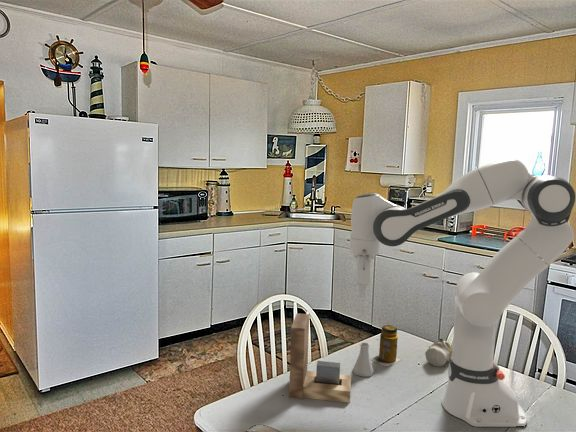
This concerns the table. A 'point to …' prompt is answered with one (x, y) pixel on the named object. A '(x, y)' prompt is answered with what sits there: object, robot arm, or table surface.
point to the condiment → (387, 346)
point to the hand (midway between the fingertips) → (361, 291)
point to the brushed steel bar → (328, 372)
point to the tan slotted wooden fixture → (306, 380)
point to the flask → (363, 362)
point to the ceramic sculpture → (438, 353)
